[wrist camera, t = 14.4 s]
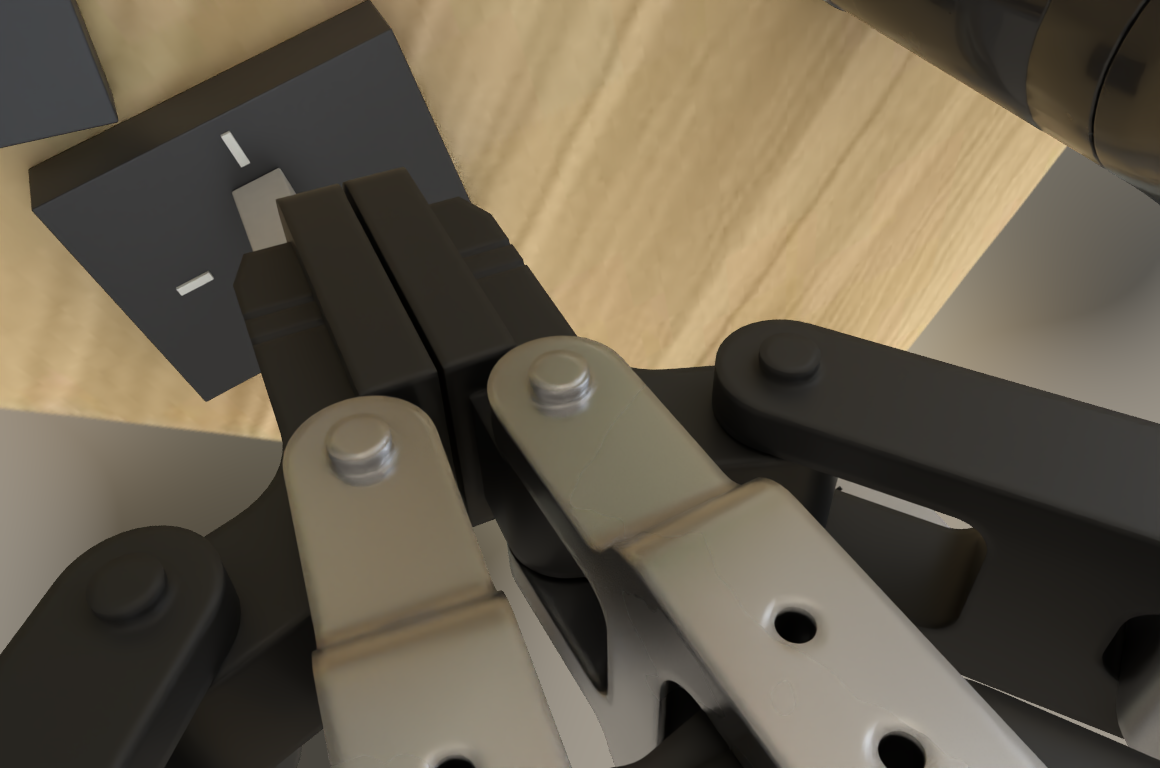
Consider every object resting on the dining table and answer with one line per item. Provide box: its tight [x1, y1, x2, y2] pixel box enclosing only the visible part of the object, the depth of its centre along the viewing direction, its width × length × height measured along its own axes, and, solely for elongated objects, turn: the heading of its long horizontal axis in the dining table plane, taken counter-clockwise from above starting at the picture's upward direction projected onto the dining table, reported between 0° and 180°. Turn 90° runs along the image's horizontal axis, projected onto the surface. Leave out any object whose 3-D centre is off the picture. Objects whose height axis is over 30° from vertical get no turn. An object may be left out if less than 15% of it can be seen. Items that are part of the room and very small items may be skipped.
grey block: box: [232, 168, 296, 251], centre depth 36 cm, size 6×2×5 cm, turn 16°
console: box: [29, 0, 471, 402], centre depth 39 cm, size 14×11×3 cm
